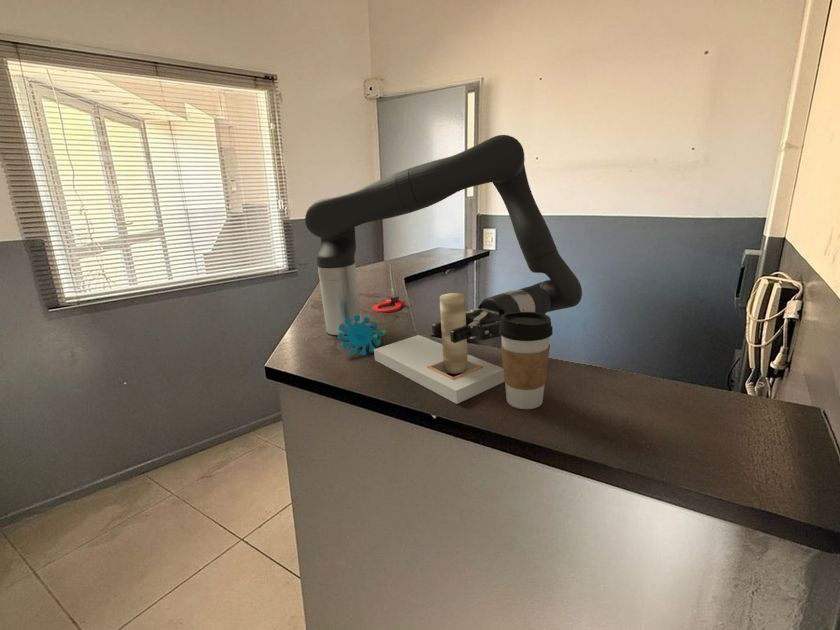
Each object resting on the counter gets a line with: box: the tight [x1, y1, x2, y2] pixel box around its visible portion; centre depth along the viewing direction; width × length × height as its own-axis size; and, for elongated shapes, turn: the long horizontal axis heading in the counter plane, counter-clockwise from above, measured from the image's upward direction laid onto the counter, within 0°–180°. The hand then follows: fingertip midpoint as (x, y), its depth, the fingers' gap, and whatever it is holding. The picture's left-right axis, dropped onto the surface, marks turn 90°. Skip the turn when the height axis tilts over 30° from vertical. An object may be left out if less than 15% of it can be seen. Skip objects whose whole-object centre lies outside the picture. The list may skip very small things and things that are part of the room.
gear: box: [337, 315, 387, 357], centre depth 100 cm, size 11×6×10 cm
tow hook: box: [372, 263, 406, 314], centre depth 128 cm, size 8×13×9 cm
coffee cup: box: [499, 312, 554, 410], centre depth 71 cm, size 8×8×15 cm
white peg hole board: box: [373, 334, 505, 405], centre depth 87 cm, size 26×12×3 cm, turn 38°
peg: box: [439, 292, 468, 375], centre depth 80 cm, size 4×4×14 cm
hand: (442, 333), depth 78 cm, fingers closed on peg, 4 cm apart
